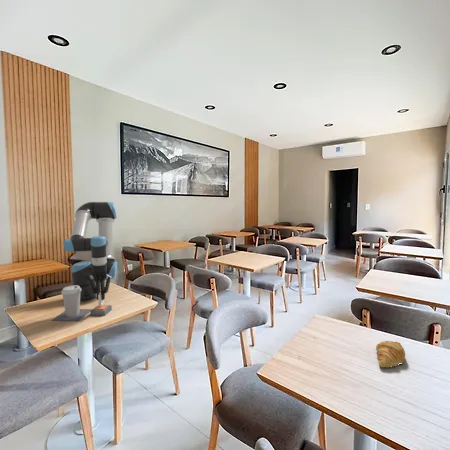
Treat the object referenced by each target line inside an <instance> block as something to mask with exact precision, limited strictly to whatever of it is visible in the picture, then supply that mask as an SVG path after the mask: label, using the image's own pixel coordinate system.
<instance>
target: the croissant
mask: <svg viewBox="0 0 450 450" xmlns="http://www.w3.org/2000/svg"><path fill="white" fill-rule="evenodd" d="M375 350H376V352H375V353H376V356H377V360H378V366H379V367H380V368H385V367H386V368H389V367H390V368H392V367H391V366H395V367H397V366H396V365H398V364H399V363H403V364H404V362H405V358H406V351H405V349H404V346H402V344H401V343H400V342H398V341H395V342H394V341H392V340H388V341H387V340H385V341H384V340H383V341H381V342H379V343H377V344H376V346H375ZM398 366H399V365H398Z"/></svg>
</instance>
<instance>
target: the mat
mask: <svg viewBox="0 0 450 450" xmlns="http://www.w3.org/2000/svg"><path fill="white" fill-rule="evenodd" d="M92 309H93V308H80V312H79V314H78V315H76V316H72V317H67V316H66V313H65V310H64V311H63V312H61V313H60V314H58V315H56V316H55V317H54V318H52V319H51V321H53V322H79V321H80V320H81V319H83V317H85V316H86V315H88V314H89V313H91V312H90V311H91V310H92Z"/></svg>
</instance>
